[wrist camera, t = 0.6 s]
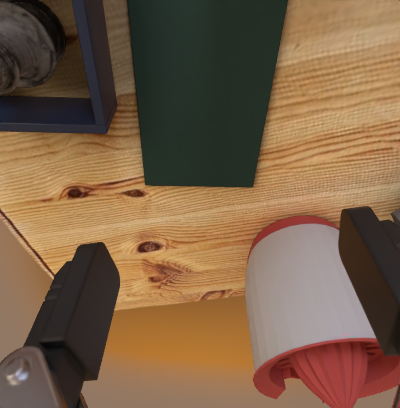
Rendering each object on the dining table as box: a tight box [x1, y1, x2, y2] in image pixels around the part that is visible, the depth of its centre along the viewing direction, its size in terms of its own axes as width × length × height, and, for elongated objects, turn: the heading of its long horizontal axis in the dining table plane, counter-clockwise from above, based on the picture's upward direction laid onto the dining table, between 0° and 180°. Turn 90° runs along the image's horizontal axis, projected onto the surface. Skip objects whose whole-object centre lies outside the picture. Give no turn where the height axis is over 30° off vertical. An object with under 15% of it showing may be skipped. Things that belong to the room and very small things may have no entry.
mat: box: [127, 0, 288, 187], centre depth 30 cm, size 20×12×1 cm, turn 178°
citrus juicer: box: [245, 216, 400, 408], centre depth 37 cm, size 16×17×20 cm
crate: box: [0, 0, 117, 134], centre depth 24 cm, size 12×12×5 cm
